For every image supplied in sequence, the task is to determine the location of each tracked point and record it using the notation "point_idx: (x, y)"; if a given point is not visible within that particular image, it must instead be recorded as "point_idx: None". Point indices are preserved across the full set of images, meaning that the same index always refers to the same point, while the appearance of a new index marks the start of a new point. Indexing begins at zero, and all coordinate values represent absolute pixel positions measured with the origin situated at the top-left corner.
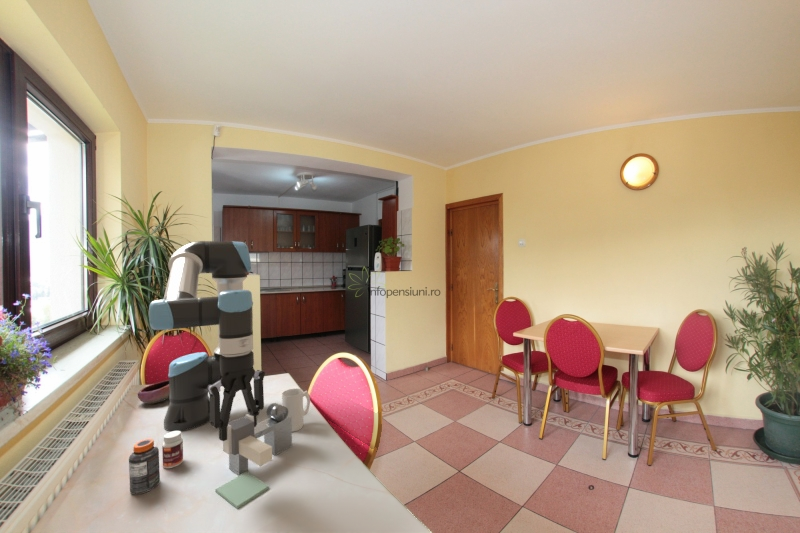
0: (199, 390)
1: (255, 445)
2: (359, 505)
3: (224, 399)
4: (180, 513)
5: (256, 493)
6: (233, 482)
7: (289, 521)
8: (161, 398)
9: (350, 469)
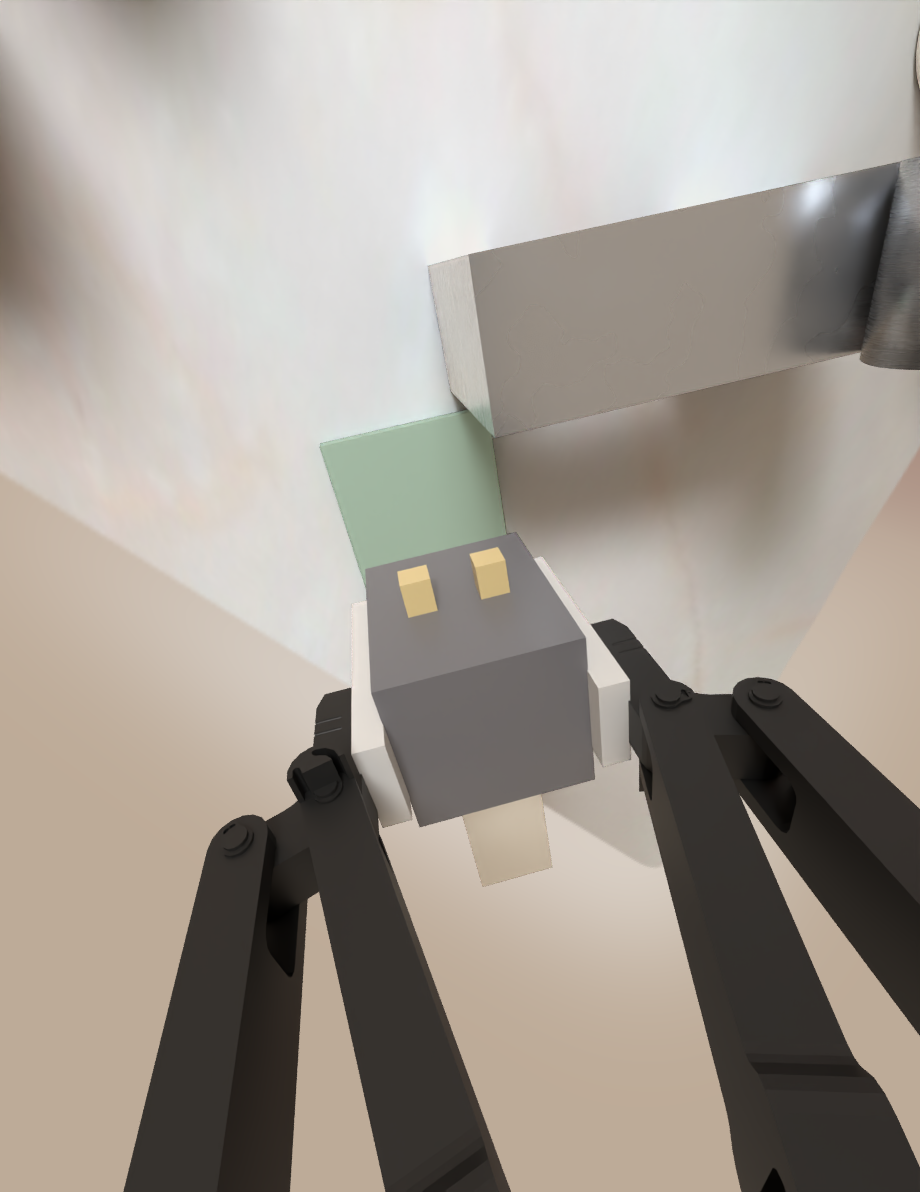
0: None
1: (497, 824)
2: (643, 792)
3: (385, 1145)
4: (160, 492)
5: None
6: (406, 454)
7: None
8: None
9: (754, 666)
